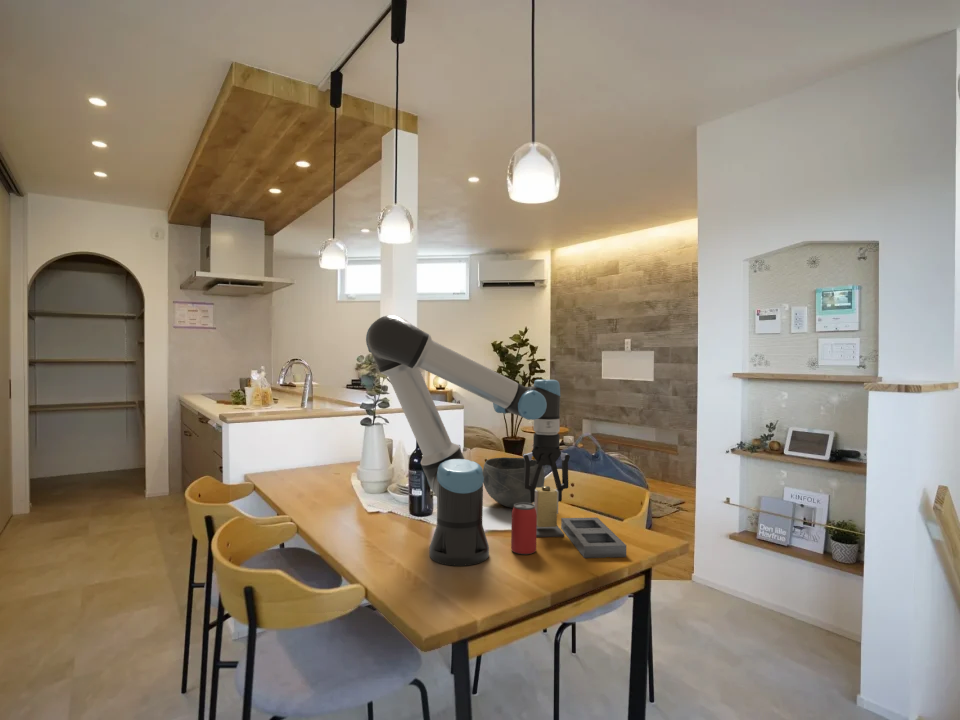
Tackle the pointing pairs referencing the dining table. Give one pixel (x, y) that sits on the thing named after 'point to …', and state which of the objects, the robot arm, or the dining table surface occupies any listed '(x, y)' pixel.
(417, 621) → the dining table surface
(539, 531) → the mat
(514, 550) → the beer can
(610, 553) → the tray
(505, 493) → the bowl
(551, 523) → the tall wooden peg block
